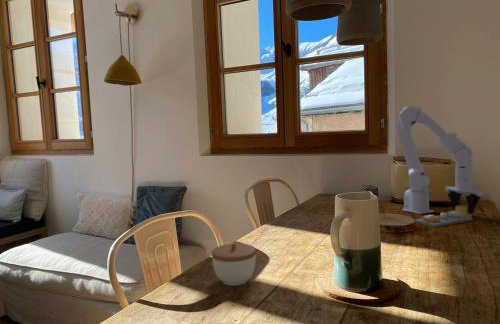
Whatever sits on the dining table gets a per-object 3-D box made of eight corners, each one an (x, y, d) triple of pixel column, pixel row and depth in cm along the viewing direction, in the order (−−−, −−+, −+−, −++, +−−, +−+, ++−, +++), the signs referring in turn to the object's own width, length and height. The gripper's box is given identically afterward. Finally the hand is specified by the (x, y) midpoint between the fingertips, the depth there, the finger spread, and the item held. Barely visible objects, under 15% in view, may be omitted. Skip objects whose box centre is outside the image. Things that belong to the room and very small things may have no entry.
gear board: (414, 222, 139) (414, 214, 139) (451, 215, 146) (451, 208, 146) (434, 227, 131) (434, 219, 130) (472, 220, 138) (472, 212, 138)
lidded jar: (233, 269, 99) (231, 235, 98) (265, 278, 92) (264, 241, 91) (204, 283, 91) (202, 245, 90) (237, 293, 84) (235, 253, 83)
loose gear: (452, 215, 147) (452, 206, 147) (462, 213, 149) (462, 204, 149) (465, 217, 142) (465, 208, 142) (475, 216, 144) (475, 207, 144)
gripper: (440, 176, 150) (440, 210, 151) (474, 180, 136) (474, 216, 137) (452, 175, 152) (452, 207, 153) (487, 178, 139) (486, 214, 140)
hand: (463, 212), depth 146 cm, fingers closed on loose gear, 6 cm apart
